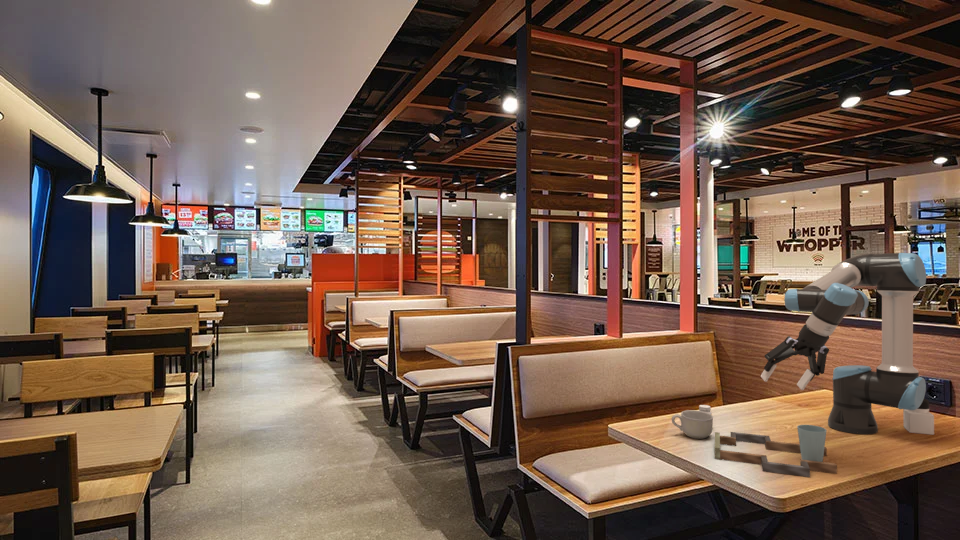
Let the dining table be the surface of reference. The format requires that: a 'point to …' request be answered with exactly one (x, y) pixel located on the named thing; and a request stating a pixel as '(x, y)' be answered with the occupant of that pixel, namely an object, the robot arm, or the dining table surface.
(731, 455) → the wooden zigzag frame
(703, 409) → the supplement bottle
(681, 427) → the teacup
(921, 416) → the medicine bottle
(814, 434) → the cup
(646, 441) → the dining table surface
